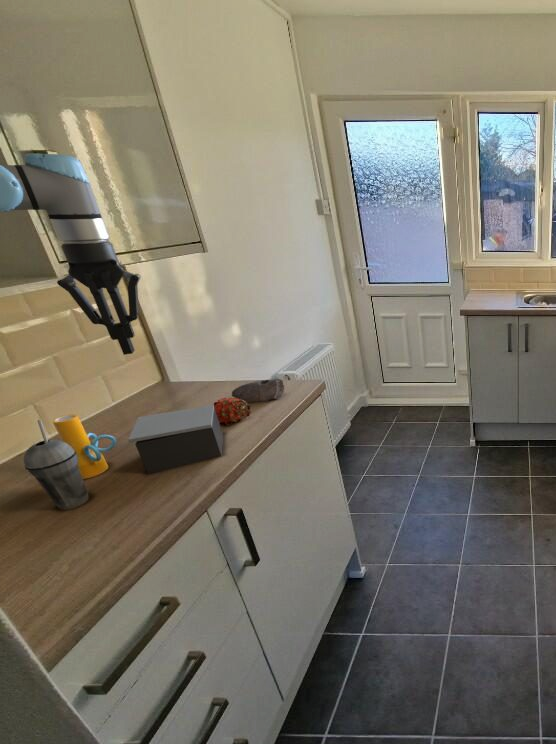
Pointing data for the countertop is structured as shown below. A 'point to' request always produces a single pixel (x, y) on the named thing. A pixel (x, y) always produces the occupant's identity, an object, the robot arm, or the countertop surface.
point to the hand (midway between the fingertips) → (129, 352)
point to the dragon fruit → (231, 410)
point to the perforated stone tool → (260, 391)
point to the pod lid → (172, 423)
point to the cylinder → (83, 445)
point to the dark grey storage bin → (181, 448)
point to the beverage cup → (57, 471)
